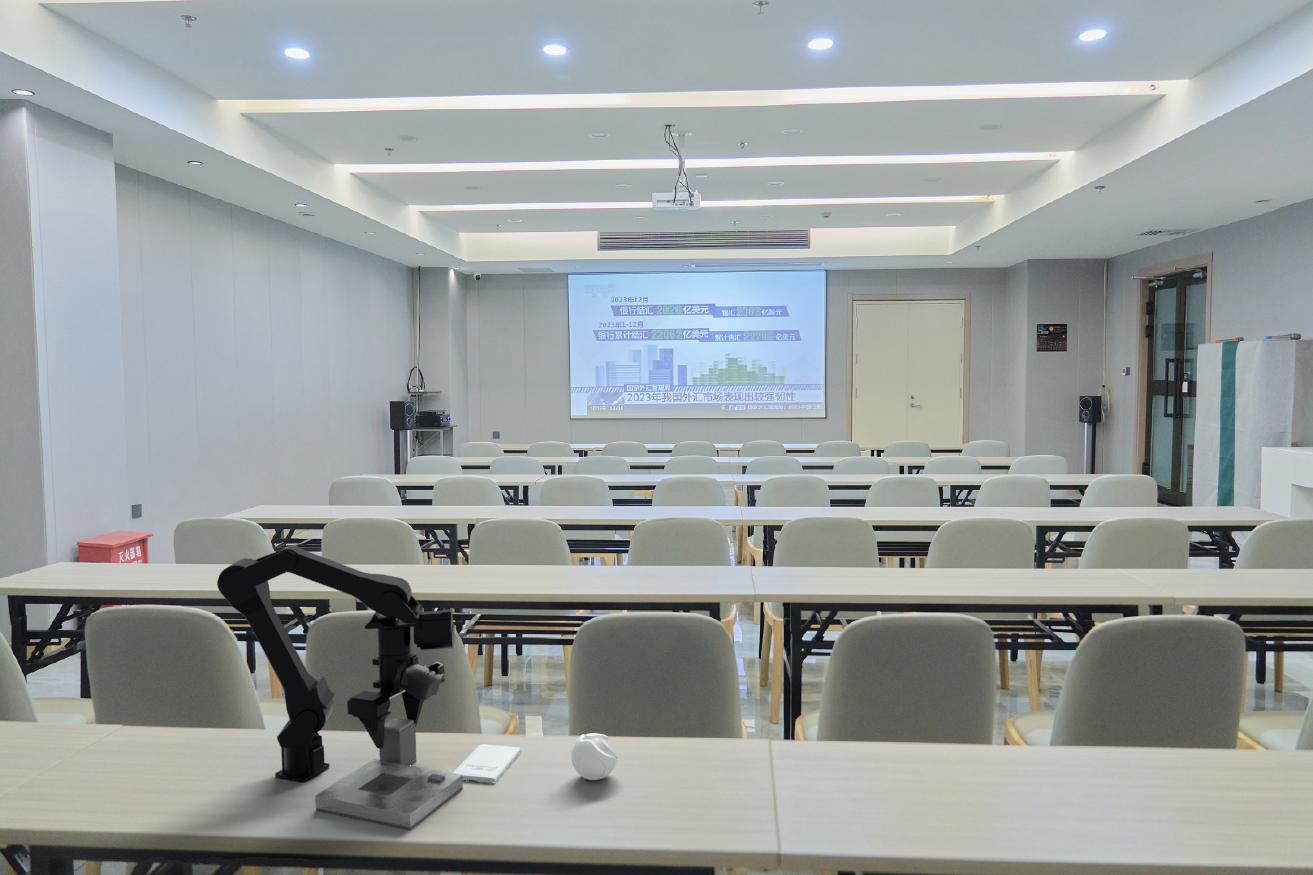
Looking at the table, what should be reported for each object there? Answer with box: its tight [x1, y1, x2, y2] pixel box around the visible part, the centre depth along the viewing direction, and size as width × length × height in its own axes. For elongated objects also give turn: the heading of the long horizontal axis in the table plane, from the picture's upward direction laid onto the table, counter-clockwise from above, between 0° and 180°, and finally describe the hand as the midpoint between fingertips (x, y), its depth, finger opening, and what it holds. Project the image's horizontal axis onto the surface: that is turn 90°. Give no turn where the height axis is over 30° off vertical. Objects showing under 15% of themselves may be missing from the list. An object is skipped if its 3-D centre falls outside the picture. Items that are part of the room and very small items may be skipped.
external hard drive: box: [452, 743, 522, 783], centre depth 151 cm, size 2×8×12 cm
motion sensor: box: [571, 732, 619, 781], centre depth 146 cm, size 8×8×8 cm
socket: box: [314, 759, 464, 831], centre depth 139 cm, size 18×14×3 cm
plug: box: [378, 717, 417, 766], centre depth 152 cm, size 4×4×8 cm
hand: (396, 737), depth 152 cm, fingers open, 9 cm apart
